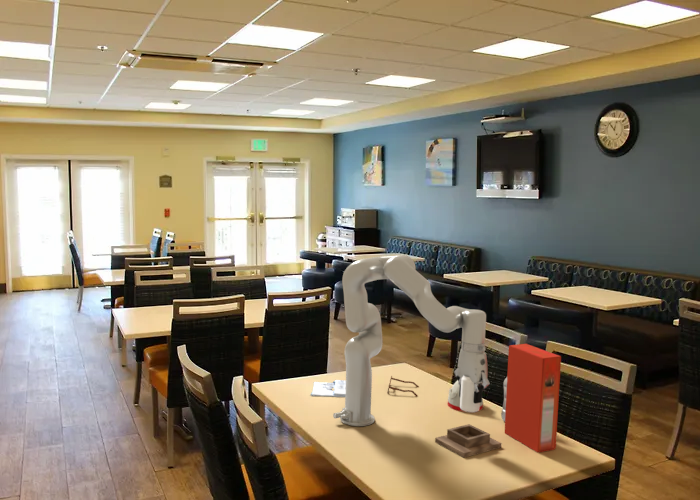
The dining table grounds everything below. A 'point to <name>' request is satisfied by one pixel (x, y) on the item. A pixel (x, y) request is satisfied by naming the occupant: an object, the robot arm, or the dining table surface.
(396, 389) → the glasses
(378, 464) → the dining table surface
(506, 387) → the plastic bottle
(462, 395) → the can
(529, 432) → the file binder
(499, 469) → the dining table surface
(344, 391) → the open book
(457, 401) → the kitchen timer
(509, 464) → the dining table surface
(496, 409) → the dining table surface
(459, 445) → the caddy
